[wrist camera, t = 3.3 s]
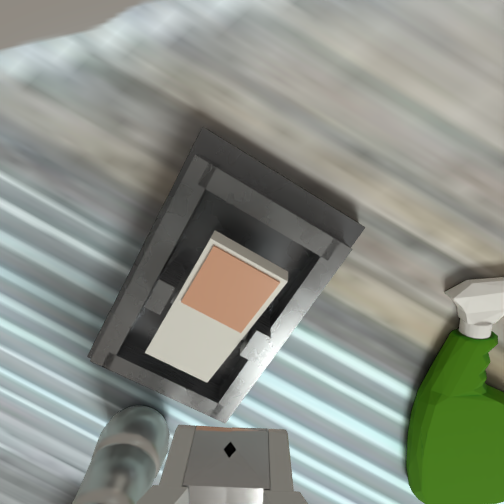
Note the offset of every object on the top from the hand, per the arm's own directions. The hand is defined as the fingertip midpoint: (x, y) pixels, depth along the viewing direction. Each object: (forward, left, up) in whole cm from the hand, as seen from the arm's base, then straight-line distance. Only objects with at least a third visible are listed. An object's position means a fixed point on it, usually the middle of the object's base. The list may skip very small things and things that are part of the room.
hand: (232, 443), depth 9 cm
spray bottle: (+21, -14, -19) cm, 32 cm away
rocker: (-3, -4, -14) cm, 14 cm away
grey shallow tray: (-3, -4, -18) cm, 19 cm away
